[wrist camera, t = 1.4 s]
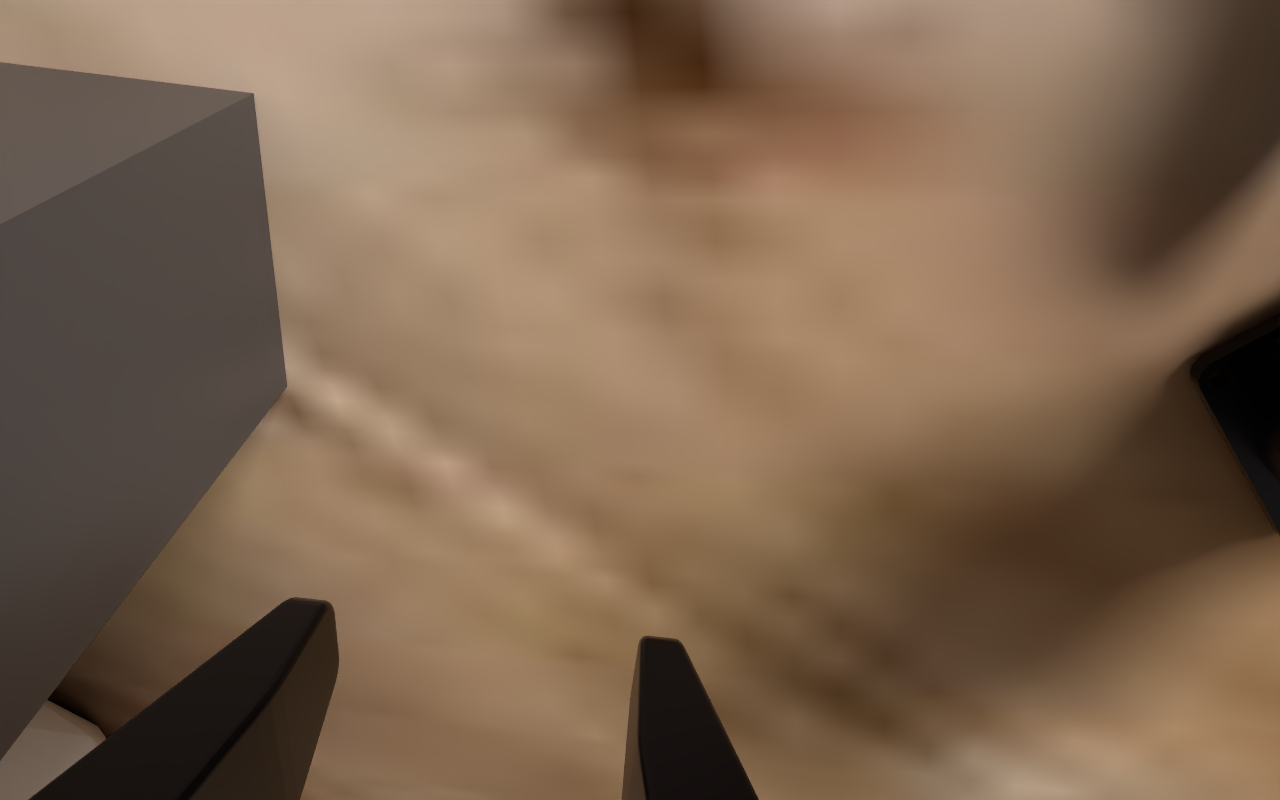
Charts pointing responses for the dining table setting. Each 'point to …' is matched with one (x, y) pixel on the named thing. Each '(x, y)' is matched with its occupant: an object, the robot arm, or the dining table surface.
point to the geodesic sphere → (45, 751)
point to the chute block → (118, 343)
